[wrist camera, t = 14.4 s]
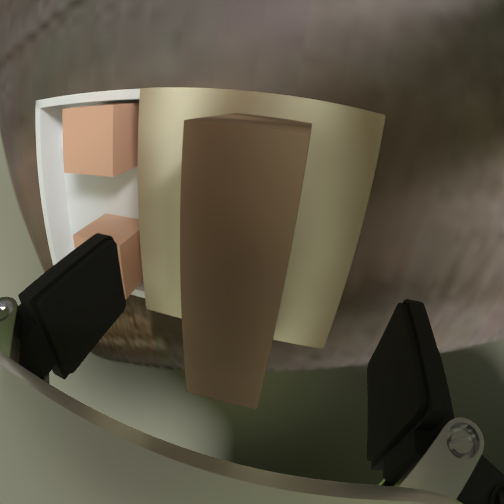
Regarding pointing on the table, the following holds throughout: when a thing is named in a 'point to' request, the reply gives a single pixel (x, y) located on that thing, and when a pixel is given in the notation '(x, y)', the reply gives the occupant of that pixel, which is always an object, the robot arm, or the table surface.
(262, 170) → the brown tapered block
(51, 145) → the tray
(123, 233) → the tan wooden cube
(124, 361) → the table surface
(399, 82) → the table surface
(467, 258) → the table surface
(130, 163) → the pink cube
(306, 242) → the beige flat block
